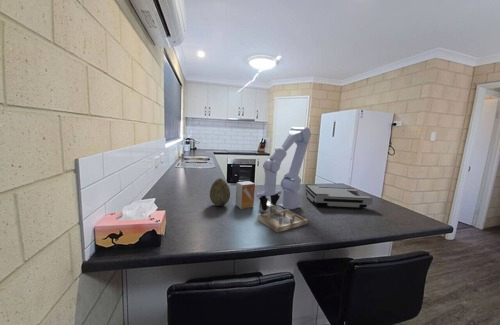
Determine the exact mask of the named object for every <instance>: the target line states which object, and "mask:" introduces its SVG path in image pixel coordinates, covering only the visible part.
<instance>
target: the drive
mask: <svg viewBox="0 0 500 325" xmlns="http://www.w3.org/2000/svg"><path fill="white" fill-rule="evenodd" d="M273 209H276V211H279V204H278V205H277V203H276V204H274V203H272V202H271V200H270V201H269V200H268V201H267V205H266V211H264V210H262V205H261V202H260V201H259V209H258V210H259V211H260V212H262V213H263V214H266V213H270V212H273Z"/></svg>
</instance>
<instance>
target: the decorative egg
mask: <svg viewBox="0 0 500 325" xmlns="http://www.w3.org/2000/svg"><path fill="white" fill-rule="evenodd" d="M209 199H210V201H211V203H213V205H215V206H217V207H223V206H225V205H227V203H229V200H230V199H231V190H230V187H229V184H228V183H227V181H226V180H225V179H224V178H221V177H219V178H217V179H216V180H215V181H214V182H213V183H212V185H211V187H210V191H209Z"/></svg>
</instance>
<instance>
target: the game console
mask: <svg viewBox="0 0 500 325" xmlns="http://www.w3.org/2000/svg"><path fill="white" fill-rule="evenodd" d="M304 192H305V196H307V198H308V199H309V200H310V201H311V202H312V203H313V204H314V205H315V206H317V207H318V208H319V209H338V210H339V209H340V210H361V211H362V209H363V208H367V206H373V201H374V198H372V197H370V196H367V195H360V194H358V193H359V190H357V189H356V188H354V187H353V188H352V187H351V188H350V187H330V186H329V187H327V186H318V185H317V184H305V188H304Z"/></svg>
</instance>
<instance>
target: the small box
mask: <svg viewBox="0 0 500 325" xmlns="http://www.w3.org/2000/svg"><path fill="white" fill-rule="evenodd" d="M255 188H256V183H254V182H252V181H250V180H246V181H245V180H244V181H238V182H236V187H235V189H236V190H235V207H238V208H239V209H241V210H242V209H247V208H253V207H254V206H255V205H254V203H255V192H256V190H255Z"/></svg>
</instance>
